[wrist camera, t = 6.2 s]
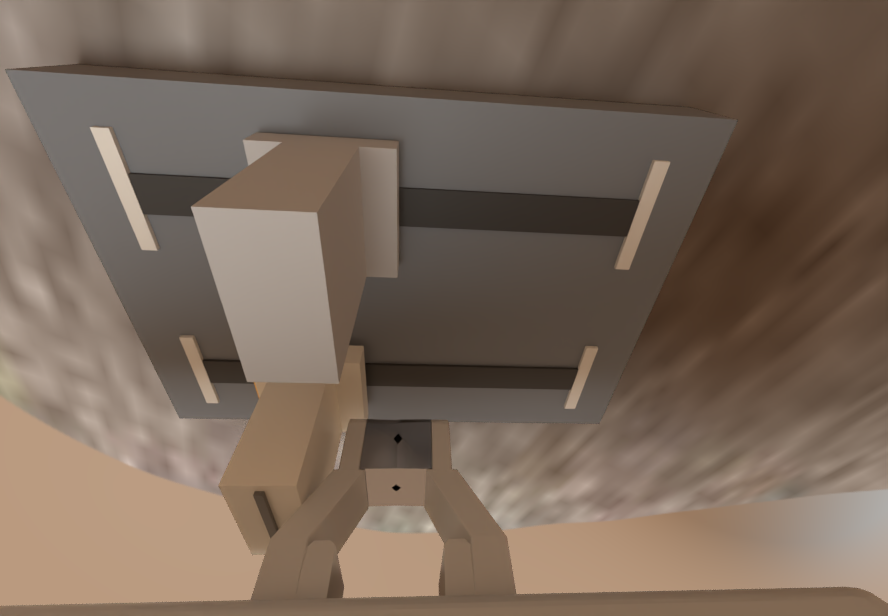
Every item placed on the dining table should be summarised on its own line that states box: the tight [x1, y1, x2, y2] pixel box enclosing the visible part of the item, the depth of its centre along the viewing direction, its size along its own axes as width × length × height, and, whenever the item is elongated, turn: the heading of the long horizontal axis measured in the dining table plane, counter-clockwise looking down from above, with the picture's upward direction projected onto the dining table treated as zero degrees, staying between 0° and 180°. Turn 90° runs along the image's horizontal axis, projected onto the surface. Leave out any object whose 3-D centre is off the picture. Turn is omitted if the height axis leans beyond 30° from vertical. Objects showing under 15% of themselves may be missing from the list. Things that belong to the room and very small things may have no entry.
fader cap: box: [219, 345, 368, 555], centre depth 11 cm, size 3×3×5 cm
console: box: [5, 64, 738, 424], centre depth 10 cm, size 16×11×7 cm
